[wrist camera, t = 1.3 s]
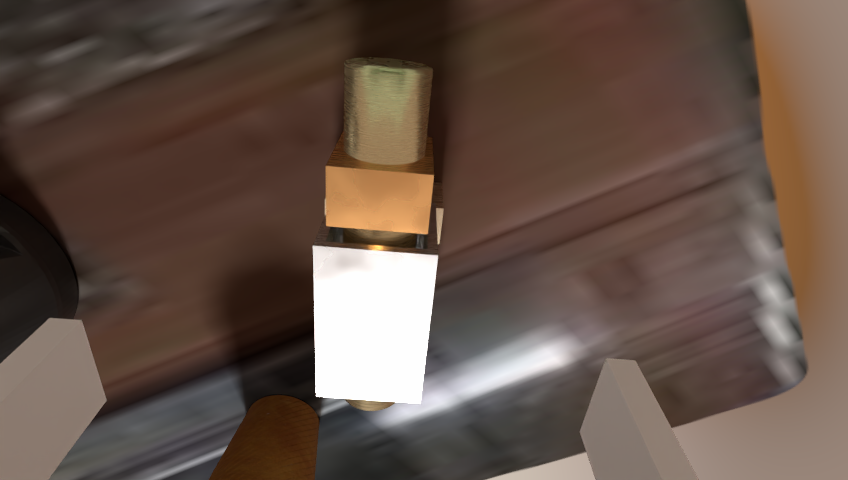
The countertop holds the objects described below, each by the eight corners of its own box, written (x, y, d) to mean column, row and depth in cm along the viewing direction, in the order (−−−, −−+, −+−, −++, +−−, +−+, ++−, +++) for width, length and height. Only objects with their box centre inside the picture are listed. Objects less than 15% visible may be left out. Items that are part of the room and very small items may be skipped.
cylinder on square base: (341, 354, 34) (327, 418, 29) (345, 51, 25) (325, 71, 20) (409, 359, 34) (407, 423, 30) (440, 60, 25) (443, 83, 20)
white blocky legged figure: (335, 294, 37) (307, 395, 28) (335, 169, 32) (302, 245, 23) (427, 301, 37) (428, 404, 28) (442, 178, 32) (448, 256, 24)
